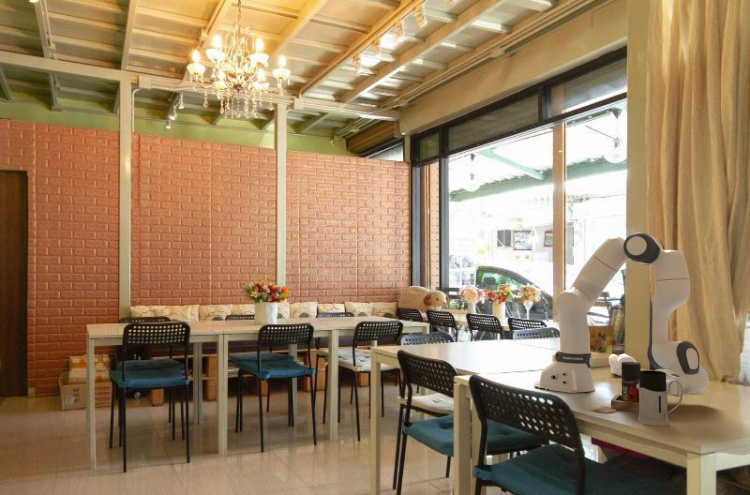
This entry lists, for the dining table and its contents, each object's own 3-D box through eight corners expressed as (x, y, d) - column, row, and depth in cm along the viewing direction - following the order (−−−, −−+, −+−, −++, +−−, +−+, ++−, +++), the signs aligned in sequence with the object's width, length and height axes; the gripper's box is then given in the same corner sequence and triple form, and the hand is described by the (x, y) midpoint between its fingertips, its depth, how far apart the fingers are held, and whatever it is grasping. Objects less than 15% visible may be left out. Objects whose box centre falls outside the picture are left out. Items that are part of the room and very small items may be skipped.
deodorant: (619, 408, 199) (618, 363, 200) (626, 405, 203) (625, 361, 204) (637, 411, 195) (636, 365, 195) (644, 408, 199) (643, 363, 199)
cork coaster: (587, 411, 195) (587, 409, 195) (591, 406, 202) (591, 404, 202) (613, 414, 191) (613, 412, 191) (617, 409, 198) (617, 407, 198)
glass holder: (650, 416, 188) (649, 369, 188) (692, 427, 175) (691, 376, 176) (631, 420, 183) (630, 371, 184) (673, 431, 171) (672, 379, 171)
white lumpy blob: (602, 372, 266) (602, 352, 266) (630, 372, 266) (629, 352, 266) (612, 377, 255) (611, 356, 255) (640, 377, 254) (640, 356, 255)
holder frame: (610, 409, 197) (610, 400, 197) (616, 402, 207) (615, 394, 207) (648, 413, 191) (648, 404, 191) (652, 406, 201) (651, 397, 201)
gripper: (642, 367, 213) (609, 369, 209) (686, 378, 193) (649, 380, 189) (642, 385, 212) (609, 387, 209) (686, 397, 193) (650, 400, 189)
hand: (629, 384), depth 199 cm, fingers closed on deodorant, 6 cm apart
